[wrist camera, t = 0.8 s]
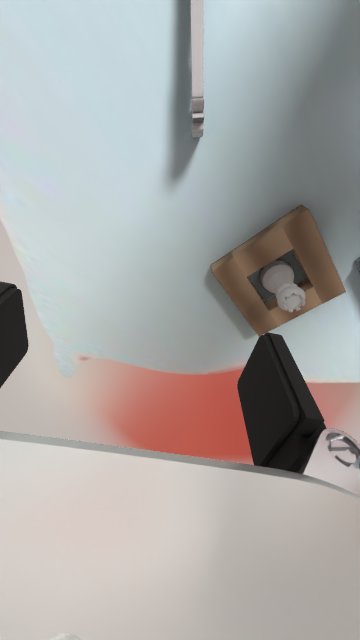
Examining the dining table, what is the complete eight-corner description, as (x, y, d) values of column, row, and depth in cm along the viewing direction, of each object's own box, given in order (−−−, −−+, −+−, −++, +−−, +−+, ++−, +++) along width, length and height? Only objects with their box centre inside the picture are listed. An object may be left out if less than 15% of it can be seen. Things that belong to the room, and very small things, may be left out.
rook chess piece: (254, 268, 37) (269, 296, 30) (286, 253, 36) (308, 279, 29) (264, 293, 39) (280, 324, 32) (295, 279, 38) (318, 309, 31)
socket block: (301, 205, 32) (308, 209, 30) (337, 283, 38) (346, 291, 36) (210, 264, 37) (212, 272, 35) (255, 326, 42) (258, 336, 40)
